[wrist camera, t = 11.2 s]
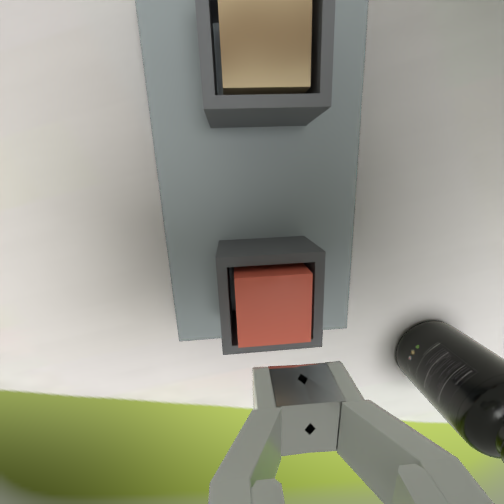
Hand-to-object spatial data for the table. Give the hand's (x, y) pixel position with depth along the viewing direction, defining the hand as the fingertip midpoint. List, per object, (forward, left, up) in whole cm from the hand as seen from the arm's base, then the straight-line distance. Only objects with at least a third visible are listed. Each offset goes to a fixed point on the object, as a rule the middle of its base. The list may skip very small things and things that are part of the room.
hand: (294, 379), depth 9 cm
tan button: (-13, 0, -11) cm, 17 cm away
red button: (+1, 0, -10) cm, 10 cm away
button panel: (-6, 0, -15) cm, 16 cm away
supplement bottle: (+11, +17, -15) cm, 25 cm away
